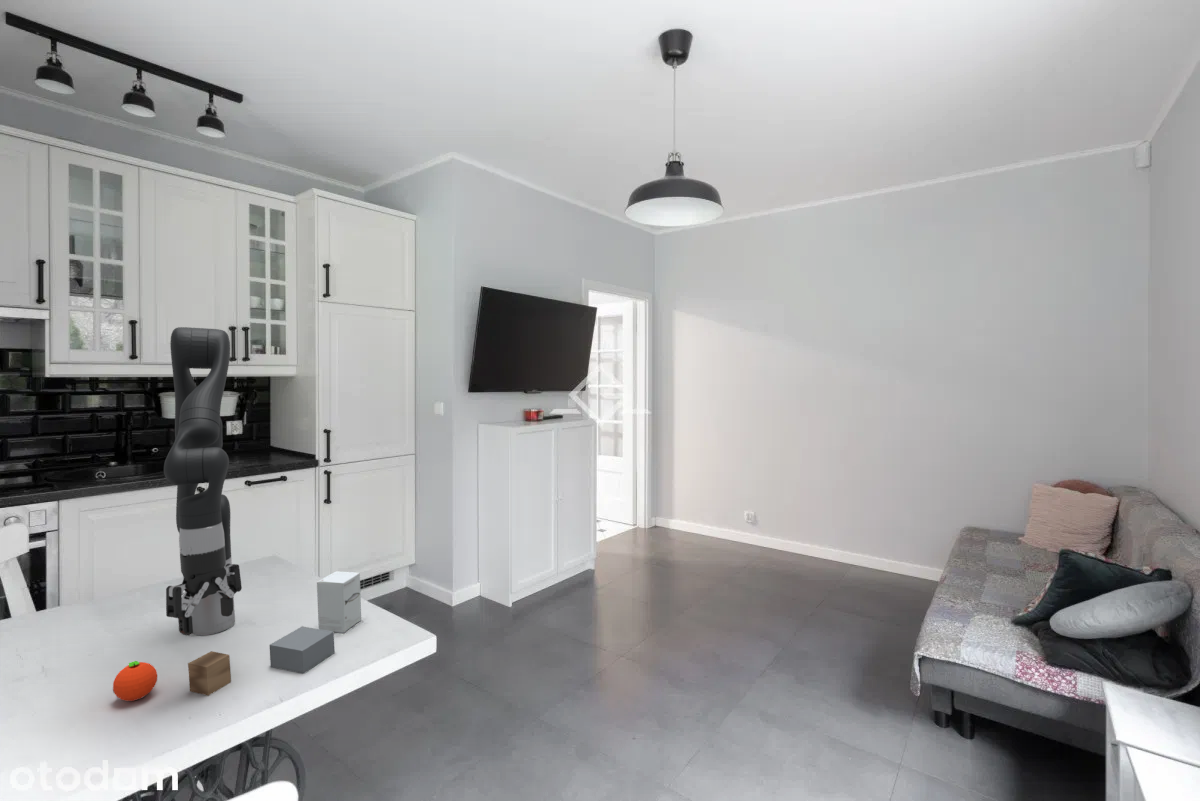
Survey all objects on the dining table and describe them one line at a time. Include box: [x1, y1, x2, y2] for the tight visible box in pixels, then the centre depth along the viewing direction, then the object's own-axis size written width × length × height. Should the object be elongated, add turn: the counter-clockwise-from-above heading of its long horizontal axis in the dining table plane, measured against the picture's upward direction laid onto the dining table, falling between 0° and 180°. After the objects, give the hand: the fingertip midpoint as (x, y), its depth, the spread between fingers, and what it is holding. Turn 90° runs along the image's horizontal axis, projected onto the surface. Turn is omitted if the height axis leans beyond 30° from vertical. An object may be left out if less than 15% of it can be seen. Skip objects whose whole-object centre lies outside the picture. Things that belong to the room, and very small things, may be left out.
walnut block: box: [187, 650, 232, 697], centre depth 119 cm, size 5×5×6 cm
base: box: [269, 625, 336, 674], centre depth 129 cm, size 9×9×5 cm
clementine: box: [112, 660, 158, 702], centre depth 115 cm, size 8×7×7 cm
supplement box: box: [316, 570, 362, 634], centre depth 145 cm, size 7×7×13 cm
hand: (207, 624), depth 118 cm, fingers open, 8 cm apart
